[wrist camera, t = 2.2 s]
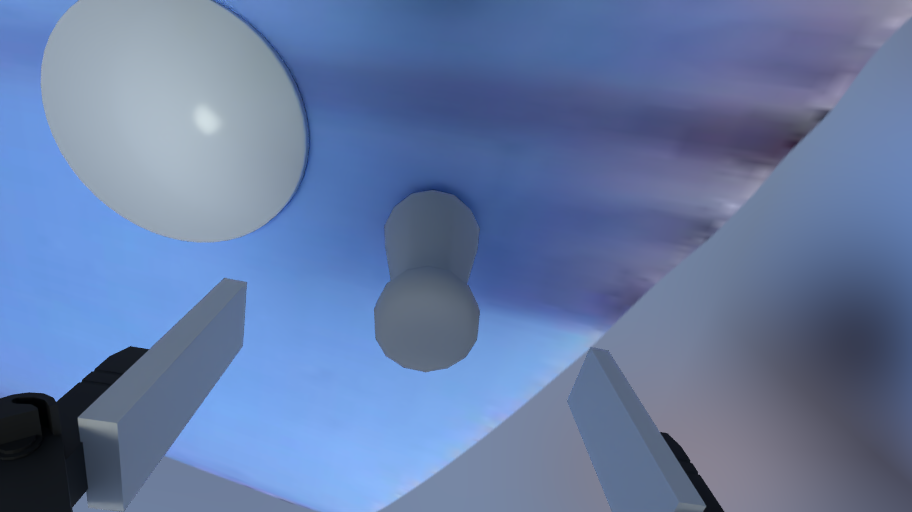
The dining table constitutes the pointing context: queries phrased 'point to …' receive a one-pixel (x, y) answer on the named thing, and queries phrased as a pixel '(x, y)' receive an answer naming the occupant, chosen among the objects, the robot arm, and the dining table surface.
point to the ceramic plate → (175, 115)
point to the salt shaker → (428, 283)
